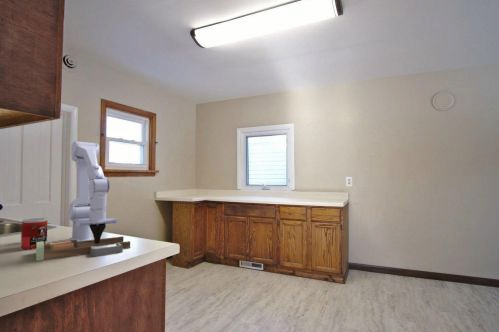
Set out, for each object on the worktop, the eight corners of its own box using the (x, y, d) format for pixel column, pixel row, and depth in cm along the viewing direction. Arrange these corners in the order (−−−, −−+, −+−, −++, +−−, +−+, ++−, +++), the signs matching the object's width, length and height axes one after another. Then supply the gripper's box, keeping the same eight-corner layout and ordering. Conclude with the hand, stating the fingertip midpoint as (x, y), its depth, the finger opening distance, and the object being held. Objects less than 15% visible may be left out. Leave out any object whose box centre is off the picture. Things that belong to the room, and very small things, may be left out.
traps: (49, 248, 108) (49, 242, 109) (110, 241, 122) (110, 235, 122) (51, 262, 91) (51, 254, 91) (122, 252, 104) (122, 245, 105)
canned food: (31, 250, 106) (33, 221, 106) (15, 249, 107) (16, 220, 108) (50, 245, 113) (51, 218, 114) (34, 244, 115) (35, 217, 115)
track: (42, 252, 103) (43, 245, 103) (122, 242, 120) (122, 236, 120) (43, 259, 94) (43, 252, 94) (130, 247, 111) (130, 241, 111)
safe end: (36, 252, 102) (36, 242, 102) (42, 252, 103) (43, 241, 103) (36, 260, 93) (36, 249, 93) (43, 259, 94) (44, 248, 94)
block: (50, 254, 101) (51, 243, 101) (69, 251, 105) (70, 240, 106) (53, 257, 97) (54, 246, 97) (73, 254, 101) (73, 243, 101)
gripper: (78, 211, 102) (76, 247, 101) (120, 208, 111) (119, 242, 110) (75, 209, 108) (74, 244, 107) (116, 207, 116) (115, 239, 116)
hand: (96, 243), depth 109 cm, fingers closed
